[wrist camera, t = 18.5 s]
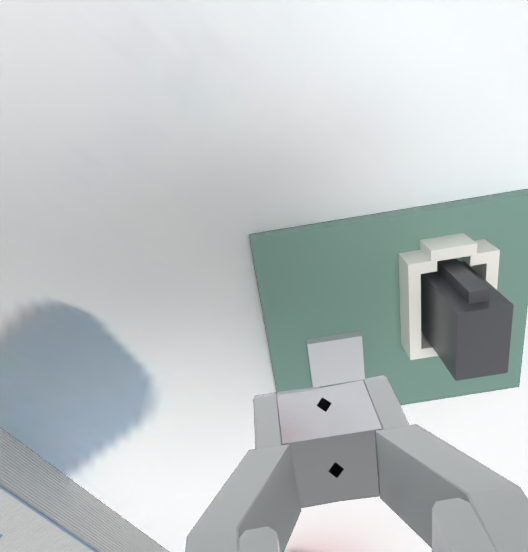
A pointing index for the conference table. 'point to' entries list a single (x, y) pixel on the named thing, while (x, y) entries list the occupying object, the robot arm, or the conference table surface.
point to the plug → (466, 320)
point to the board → (386, 293)
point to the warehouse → (56, 510)
